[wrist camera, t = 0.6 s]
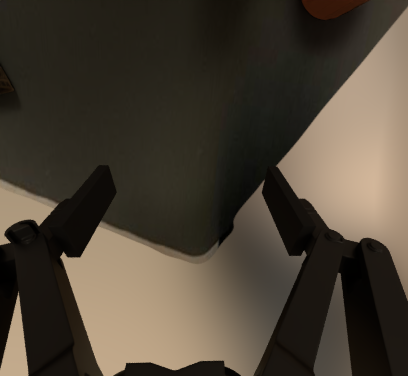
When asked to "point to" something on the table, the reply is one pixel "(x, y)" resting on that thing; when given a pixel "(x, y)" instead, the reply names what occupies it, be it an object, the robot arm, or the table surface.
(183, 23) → the table surface
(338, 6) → the crock
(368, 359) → the robot arm
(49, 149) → the table surface
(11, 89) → the beverage carton
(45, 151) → the table surface
